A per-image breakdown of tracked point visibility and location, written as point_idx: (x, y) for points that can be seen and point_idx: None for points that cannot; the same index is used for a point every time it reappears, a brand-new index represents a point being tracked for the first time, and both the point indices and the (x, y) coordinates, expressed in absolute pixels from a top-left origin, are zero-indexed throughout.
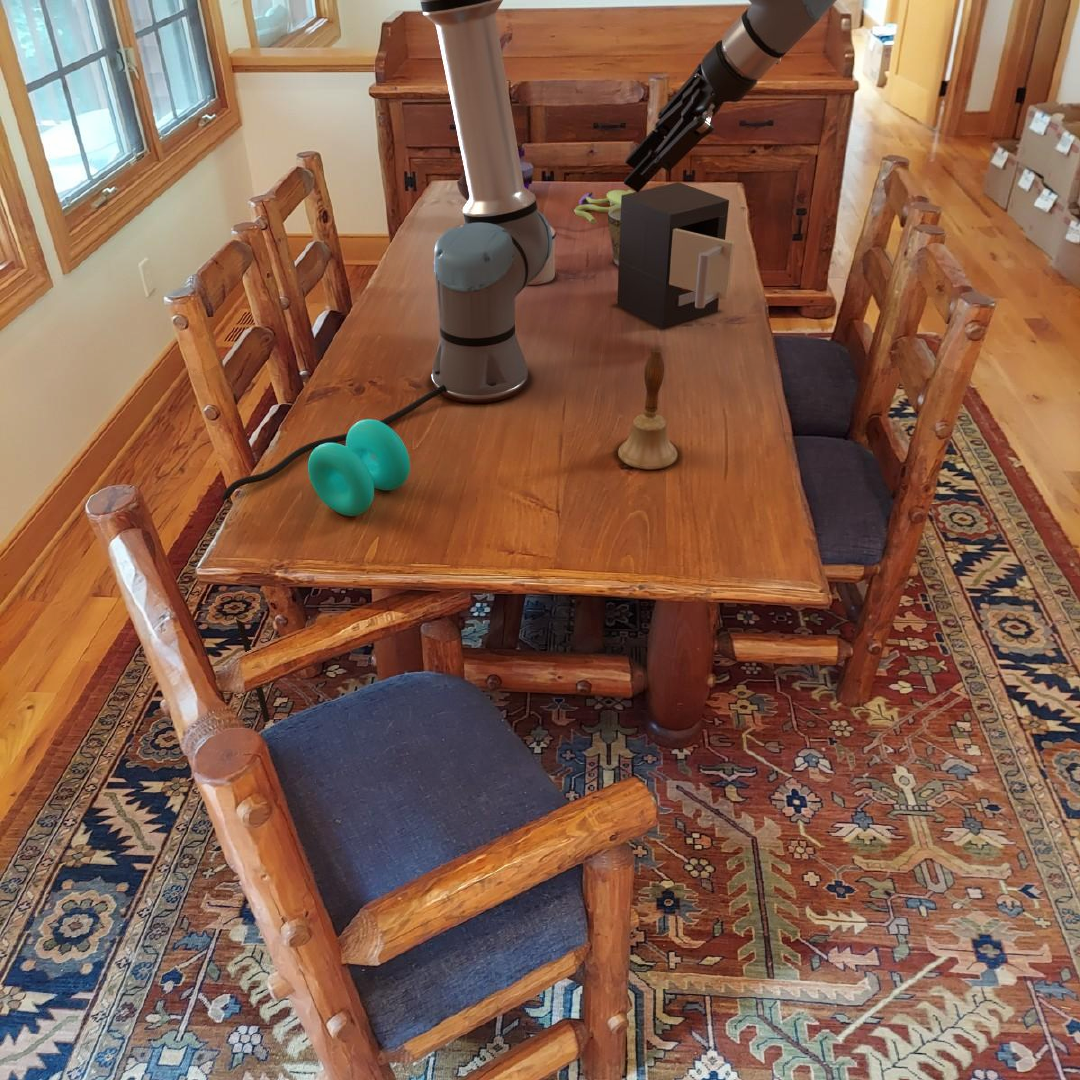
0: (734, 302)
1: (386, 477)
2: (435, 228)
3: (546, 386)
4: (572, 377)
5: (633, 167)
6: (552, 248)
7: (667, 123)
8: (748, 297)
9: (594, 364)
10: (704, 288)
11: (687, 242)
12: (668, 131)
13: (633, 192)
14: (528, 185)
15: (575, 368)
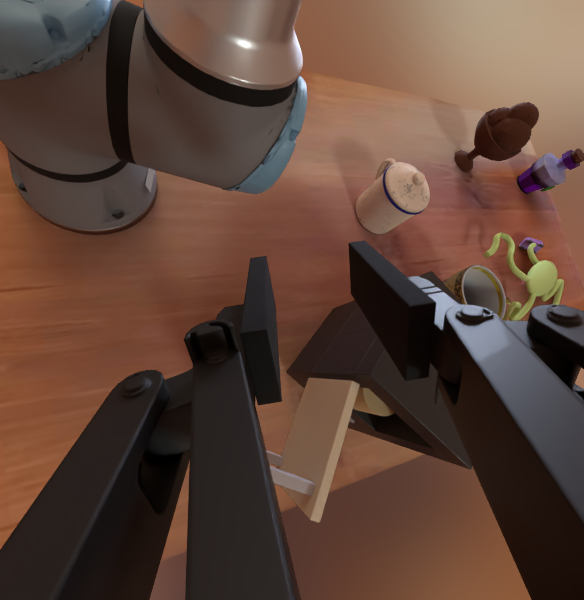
0: (377, 442)
1: None
2: (443, 121)
3: (91, 258)
4: (124, 286)
5: (350, 272)
6: (395, 217)
7: (471, 389)
8: (394, 455)
9: (169, 307)
10: None
11: (333, 411)
12: (459, 385)
13: (561, 285)
14: (537, 189)
15: (153, 286)
